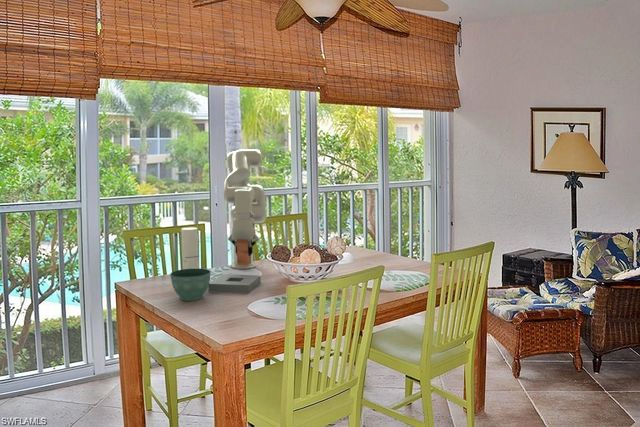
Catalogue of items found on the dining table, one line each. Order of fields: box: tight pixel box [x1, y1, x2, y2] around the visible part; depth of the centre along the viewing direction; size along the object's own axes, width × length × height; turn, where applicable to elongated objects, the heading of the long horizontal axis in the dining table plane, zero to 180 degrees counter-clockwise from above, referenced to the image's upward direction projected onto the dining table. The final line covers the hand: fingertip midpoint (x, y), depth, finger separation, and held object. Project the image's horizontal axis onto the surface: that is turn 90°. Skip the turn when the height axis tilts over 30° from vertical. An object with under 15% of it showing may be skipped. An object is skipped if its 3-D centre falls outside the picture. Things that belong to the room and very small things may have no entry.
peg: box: [237, 239, 251, 266], centre depth 282 cm, size 5×5×12 cm
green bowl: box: [170, 268, 212, 302], centre depth 251 cm, size 16×16×11 cm
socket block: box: [207, 273, 262, 294], centre depth 269 cm, size 18×18×4 cm
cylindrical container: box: [180, 226, 200, 269], centre depth 276 cm, size 7×7×25 cm
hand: (244, 254), depth 282 cm, fingers closed on peg, 5 cm apart
